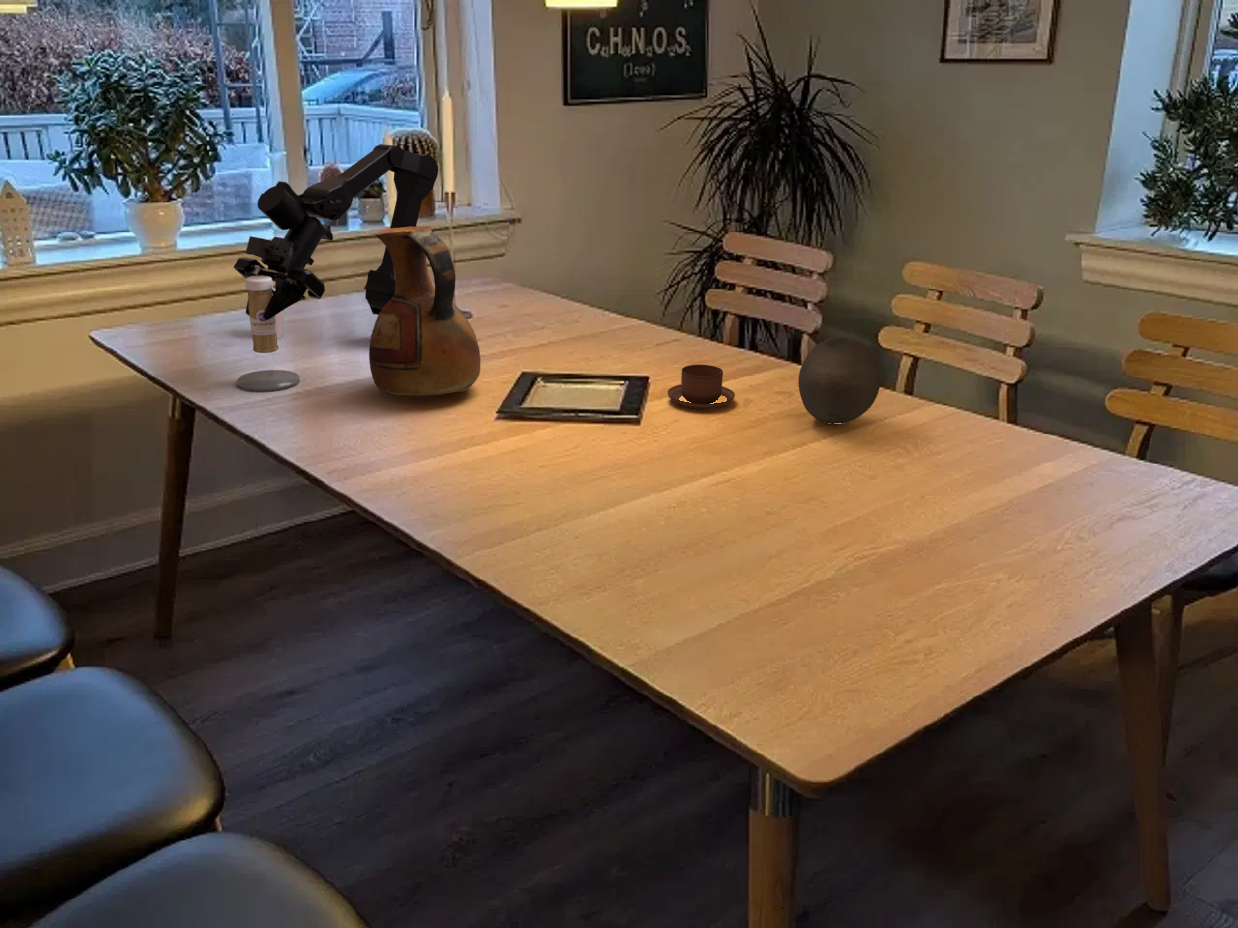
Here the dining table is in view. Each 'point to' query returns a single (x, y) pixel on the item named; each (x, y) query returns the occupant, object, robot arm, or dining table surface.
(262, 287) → the sprinkles bottle
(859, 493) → the dining table surface
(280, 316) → the smoothie
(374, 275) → the robot arm
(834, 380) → the dark charcoal ball
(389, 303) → the ceramic pitcher
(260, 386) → the slate gray plate
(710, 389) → the cup and saucer
